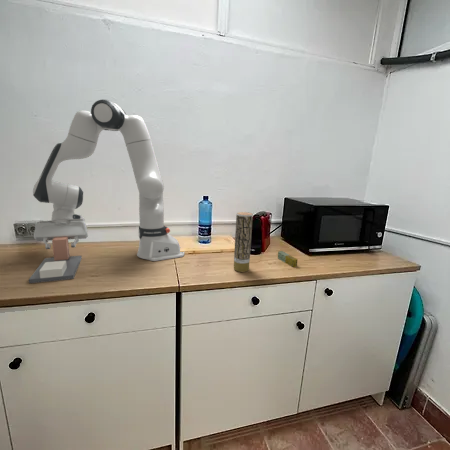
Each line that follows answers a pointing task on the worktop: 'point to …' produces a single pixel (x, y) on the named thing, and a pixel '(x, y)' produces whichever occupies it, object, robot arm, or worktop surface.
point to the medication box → (287, 259)
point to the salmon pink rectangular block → (60, 248)
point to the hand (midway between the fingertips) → (60, 247)
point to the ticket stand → (56, 269)
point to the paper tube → (242, 241)
